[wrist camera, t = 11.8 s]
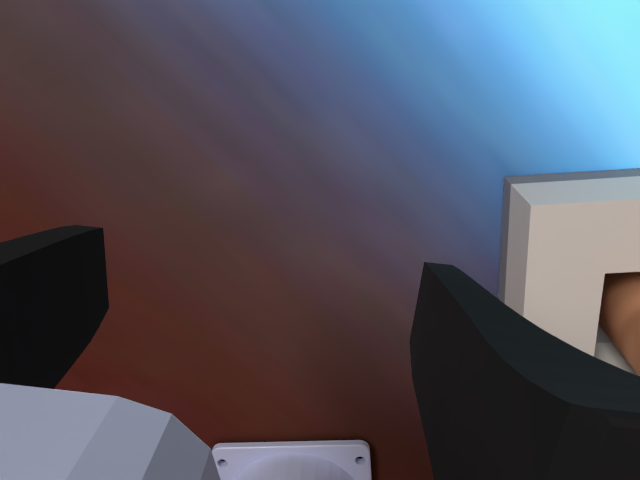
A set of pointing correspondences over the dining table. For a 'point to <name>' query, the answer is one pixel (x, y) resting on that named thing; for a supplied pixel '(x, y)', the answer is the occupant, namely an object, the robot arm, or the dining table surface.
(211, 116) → the dining table surface
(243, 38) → the dining table surface
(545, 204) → the hole block
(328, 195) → the dining table surface
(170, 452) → the robot arm
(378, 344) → the dining table surface
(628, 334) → the peg
